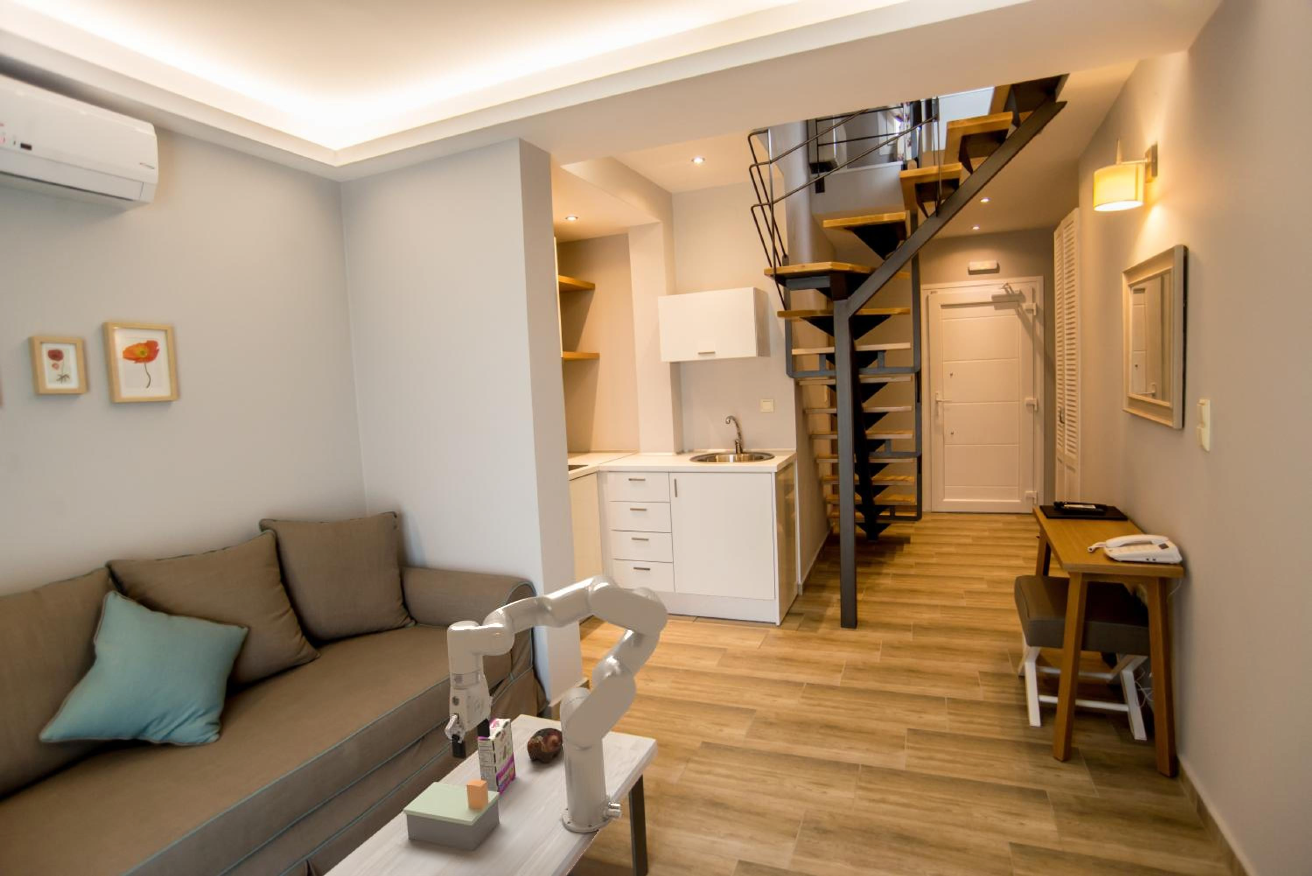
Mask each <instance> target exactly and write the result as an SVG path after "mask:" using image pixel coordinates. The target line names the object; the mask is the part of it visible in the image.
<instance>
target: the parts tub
mask: <svg viewBox="0 0 1312 876" xmlns="http://www.w3.org/2000/svg"><path fill="white" fill-rule="evenodd" d="M498 799H499V798H498ZM498 799H497V800H496V801H495V802H494V803H493V804H492V805H491V806H490V807H489V808H488V809H487V810H486V811H485V812H484V813H483V814H482V815H481V817H480V818H479V819H478V820H477V821H476V822H475V823H474V824H473V825H472V826H471V825H465V824H460V823H454V822H449V821H443V820H438V819H432V818H427V817H421V816H415V815H410V814H405V816H406V827H407V837H408V840H413V841H419V842H424V843H428V844H429V843H430V844H435V845H440V846H444V847H451V848H456V849H460V850H465V851H471V852H474V850H475V849H477V847H478V846H480V844H481V843H482V842H483V841H484V840H485V838H487V836H488V835H489V834H490V833H491V832H492V831H493V829H494V828H495V827H496V826H497V825H498V824H500V813H499V801H498Z"/></svg>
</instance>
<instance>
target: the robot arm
mask: <svg viewBox="0 0 1312 876" xmlns="http://www.w3.org/2000/svg"><path fill="white" fill-rule="evenodd" d="M616 581H617V580H615V579H614V578H613V577H612V576H610V575H608V574H607V573H599V574H595V575H591V576H589V577H587V578H585V579H582V580H579V581H577V582H575V583H572V584H569V585H568V586H567V585H566V586H565V587H563V588H560V589H558V590H555V591H552V592H550V593H546V594H542V595H541V594H540V595H537V596H532V597H527V598H523V599H520V600H517V601H514V602H511V603H509V604H507V605H504V606H502V607H500V608H497V609H495V610H493V611H492V612H490V613H488V615H487V616H486V617H485V618H484V620H483V623H482V625H481V626H480V624H479V623H478V622H477V621H474V620H461V621H456V622H454V623H452V624H451V625H449V627H448V628H447V631H446V637H447V638H446V641H447V653H448V655H447V656H448V668H449V679H450V680H449V681H450V688H449V689H450V690H449V722H448V723H447V725H446V727H445V728H444V733H445V736H446V738H447V739H448V740H449V742H451V747H452V748H451V749H452V757H453V758H456V759H462V760H465V759H466V757H467V749H466V741H465V740H464V739H465V735H466V732H471V731H472V730H474V728H477V729H476V731H477V737H486V738H489V737H490V724H491V723H490V720H491V717H492V715H490V714H491V713H492V712H491V711H492V704H493V698H494V697H493V696H490V691H489V690H490V689H489V687H488V682H487V678H486V675H485V674H484V659H483V656H501V655H505V654H507V653H508V652H510V650H512V648H513V646H514V643H515V635H516V634H518V633H520V632H522V631H525V630H528V629H530V628H531V629H532V628H534V627H541V626H544V627H545V626H546V627H549V628H555V629H557V628H558V629H559V628H562V629H563V628H565V627H567V626H570V625H571V624H575V623H576V622H578V621H580V620H584V619H586V618H588V617H591V616H595V617H596V618H597V619H599V620H602V621H604V622H606V623H607V624H608V623H609V624H612V625H614V626H617V627H619V628H623V629H624V630H625V631H624V632H623V634H622V635H621V637H620V638H619V639H618V640H617V641H616V643H615V644H614V645H613V646H612V648H610V649H609V651H608V652H606V654H605V655H604V656H603V657H602V659H600V660H599V661H598V663H597V664H595V667H593V670H592V673H591V682H592V683H591V684H592V686H593V689H592V690H590V689H588V687H587V688H586V687H582V686H579V687H574V688H572V689H570V690H568V691H567V692H566V693H565V694H564V695H563V698H562V699H561V701H560V706H559V719H560V728H561V731H562V739H563V744H562V746H563V747H562V748H563V763H564V777H565V786H566V787H565V790H566V803H567V804H566V805H567V806H566V807H565V808H564V810H563V811H562V814H561V821H562V825H564V827H565V828H566V829H568V830H569V831H572V832H575V833H580V834H581V833H583V834H586V833H593V832H595V831H598V830H601V829H603V828H604V827H606V826H607V825H609V824H610V823H611V822H612V820H613V819H619V820H621V818H622V815H623V811H622V809H621V808H622V805H621V804H619V803H613V802H612V800H611V795H610V794H607V789H606V788H607V787H606V775H605V774H606V771H605V759H604V746H603V745H604V743H603V740H604V738H605V737H606V736H607V734H609V733H610V732H611V730H612V729H613V728H614V727H615V726H616V725H617V723H619V721H621V719H622V717H624V716H625V715H626V714H627V712H628V711H629V709H630V708H631V707H632V705H633V704H634V701H635V698H636V697H637V696H636V695H637V684H636V680H635V677H636V675H637V674H638V673H639V672H640V670H641V669H642V668H643V667H644V665H646V663H647V661H648V660H649V659H650V658H651V656H653V654H654V651H656V649H657V646H658V643H659V640H660V636H661V632H662V631H663V630H664V629H665V628H666V627H667V624H668V621H669V613H668V609H667V607H666V605H665V604H664V603H663V601H662V600H661V598H660V597H659V596H658V594H656V592H655V591H653V589H650V588H649V587H646V586H645V587H644V586H643V587H642V586H641V587H637V588H635V589H633V590H632V591H631V590H627V589H625V588H623V587H621V586H620V585H619V584H618V582H616ZM458 731H460V733H459V734H457V733H458Z"/></svg>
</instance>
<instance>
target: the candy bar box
mask: <svg viewBox="0 0 1312 876" xmlns="http://www.w3.org/2000/svg"><path fill="white" fill-rule="evenodd" d="M489 724H490V737H489V738H486V737H479V736H477V738H476V742H477V753H478V754H477V755H478V762H479V770H480V771H479V772H480V780H483V781H487V788H488V791H494V792H499V793H500V796H501V795H502V794H503V792H504V791H505V790H506V788H507V787H508V786H509V784H510V782H511V781H514V779H515V777H516V776H517V773H516V764H515V763H516V762H515V754H514V743H513V742H514V741H513V735H512V734H513V733H512V724H511V718H497V717H496V718H494V719H493V720H492V721H491V722H490V723H489Z"/></svg>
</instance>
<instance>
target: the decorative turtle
mask: <svg viewBox="0 0 1312 876" xmlns="http://www.w3.org/2000/svg"><path fill="white" fill-rule="evenodd" d="M562 746H563V739H562V730H559V729H557V728H555V727H545V728H541V729H539V730H537V731H535V733H533V734H532V736H531V737H530V738H529V740H528V741H527V744H526V751H527V754H528V757H529V759H530V760H531V761H535V760H537V759H538V758H539V759H540V760H541V761H542V762H543V763H545V764H548V763H550V761H551V760H552V757H553V756H555V757H557V756H558V757H559V755H560V752H561V750H562V748H563V747H562Z"/></svg>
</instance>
